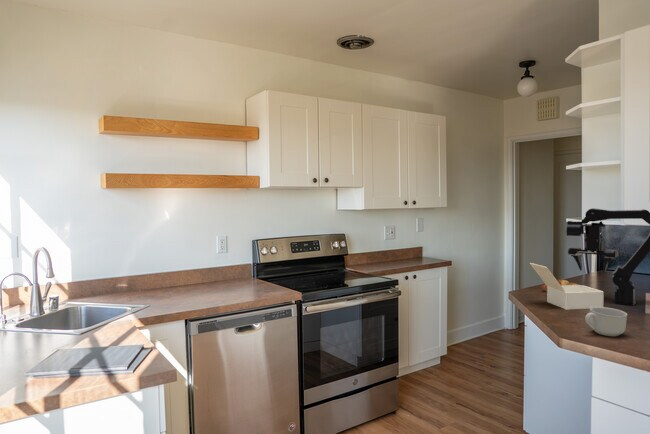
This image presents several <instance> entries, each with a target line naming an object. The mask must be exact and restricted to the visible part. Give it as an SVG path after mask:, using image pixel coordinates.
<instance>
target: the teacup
mask: <svg viewBox="0 0 650 434" xmlns="http://www.w3.org/2000/svg"><path fill="white" fill-rule="evenodd" d="M627 318H628V313H627V312H625V311H623V310H620V309H617V308H611V307H607V306H603V307H592V308H590V309H589V312H588V313H587V314H586V315H585V318H584V320H585V322H586V324H587V325H589V326H590V328H591V329H592V330H594V332H595V333H596V334H599V335H602V336H606V337H618V336H620V335H622V334H623V333H624V332H625V331H626V328H627V327H626V326H627Z"/></svg>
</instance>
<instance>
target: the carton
mask: <svg viewBox="0 0 650 434" xmlns="http://www.w3.org/2000/svg"><path fill="white" fill-rule="evenodd" d="M562 287H563V289H564V290H565V292H563V291H560V290H557V289H554V288H551V287H548V286H547V291H546V295H547V296H546V298H547V300H546V302H547V303H548V304H551V305H554V306H557V307H559V308H561V309H564V310H567V311H568V310H590V308H592V307H604V291H603V290H600V289H596V288H593V287H590V286H587V285H582V284H578V285H567V286H562Z"/></svg>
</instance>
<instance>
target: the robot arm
mask: <svg viewBox="0 0 650 434" xmlns="http://www.w3.org/2000/svg"><path fill="white" fill-rule="evenodd" d="M621 219H622V220H624V219H625V220H626V219H627V220H632V219H633V220H634V219H635V220H636V219H637V220H638V219H639V220H640V219H641V220H644V222H646V223H647V224H648V225H649V226H650V211H649V210H647V209H644V208H643V209H633V210H631V209H630V210H629V209H627V210H626V209H623V210H620V209H619V210H618V209H617V210H608V209H601V208H590V209H588V210H586V212H585V217H584V218H583V219H581V221H572V220H568V221H566V232H565V233H566V236H568V237H581V236H582V235H584V234H585V235H584V236H585V237H584V242H585V243H584V244H585V245H584V246H585V247H584V249H582V248H581V247H578V246H577V247H575V246H574V247H569V248H568V249H567V255H570V256H571V257H573V258H574V260H575V262H576V264H577V266H578V268H579V271H583V263H582V261H583V260H582V257H583V254H586V255H600V256H604V257H603V265H602V266H603V267H602V271H603V274H605V273H606V271H607V269H608V265H609V263H610V262H611V260H614V259H615V258H617V257H619V256H620V255H619V251H618V249H604V248H605V245H604V243H603V242H602V239H601V228H604V227H606V224H604V222H603V221H606V220H621ZM590 222H591V224H588V223H590ZM649 253H650V232H649V234H648V235H647V237H646V238H645V240H644V242H643V243H642V244H640V246H639V248H637V250H636V251H635V253H634V254H633V255H632V256H631V257H630V258H629V259H628V261H627V262H626V263H625V264H623V265H622V266H621V265H617V268H616V269H615V270H614V271H612V278H611V279H612V282H613V285H615V286H617V288H616V290H615V292H614V304H618V305H626V306H634V305H635V304H637V302H636V289H635V285H634V282H633V281H631V277H632V276H633V273H634V272H635V270H636V268H637V267H639V265H640V264H641V263H642V262H643V261H644V259H645V258H646V257H647V256H648V254H649Z"/></svg>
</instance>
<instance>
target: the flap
mask: <svg viewBox="0 0 650 434" xmlns="http://www.w3.org/2000/svg"><path fill="white" fill-rule="evenodd" d="M529 264H530V266H531V267H532V268H533V270H534V271H535V272H536V274H537V275H538V276H539V278H540V279H541V280H542V282H543V283H544V285H545V284H546V285H547V286H548V287H551V288H554V289H557V290H560V291H563V292H565V290H564V289H563V287H562V286H561V285H560V284H559V282H558V280H557V279H556V277H555V276H554V274H553V273H552V272H551V270H550V269H549V268H548V267H547V266H545V265H541V264H537V263H533V262H529Z"/></svg>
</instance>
